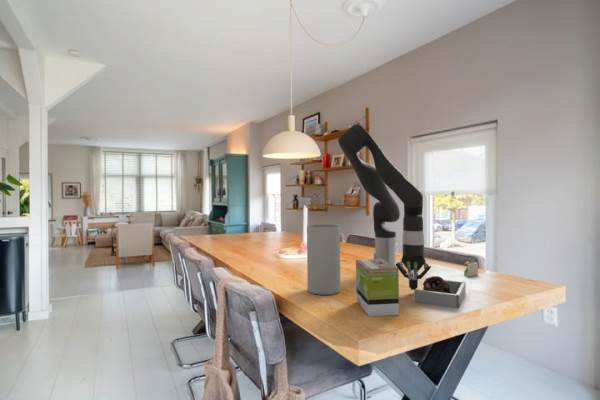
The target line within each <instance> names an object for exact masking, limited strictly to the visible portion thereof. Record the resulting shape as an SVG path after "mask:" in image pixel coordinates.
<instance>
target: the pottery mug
mask: <svg viewBox="0 0 600 400" xmlns="http://www.w3.org/2000/svg"><path fill="white" fill-rule="evenodd" d="M427 278H428V279H426V278H425V279H424V281H423V283H422V286H423V289H422V290H425V291H433V292H441V293H449V294H453V292H451V290H450V289H449V284H448V283H447V282H446V281H445V280H446V279H443V277H441V276H438V275H435V276H434V275H433V276H429V277H427ZM437 281H439V283H438V282H437ZM427 283H428V284H429V286H430V288H428V287H426V284H427Z"/></svg>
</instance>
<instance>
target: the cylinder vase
mask: <svg viewBox="0 0 600 400" xmlns="http://www.w3.org/2000/svg"><path fill="white" fill-rule="evenodd" d="M306 253H307V254H306V257H307V258H306V261H307V262H306V263H307V268H306V269H307V271H306V272H307V275H306V276H307V277H306V278H307V291H308V292H309V293H310V294H312V293H313V294H312V295H316V294H318V296H330V295H331V296H332V295H335V294H339V292H340V291H341V225H340V224H327V223H326V224H320V223H319V224H309V225H306Z"/></svg>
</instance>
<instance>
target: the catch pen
mask: <svg viewBox="0 0 600 400" xmlns="http://www.w3.org/2000/svg"><path fill="white" fill-rule="evenodd" d="M428 278H429V277H425V280H426V279H428ZM444 280H445V281H446V282H447V283H448V284H449V289H450V290H451V292H452V294H449V293H441V292H433V291H425V290H423V289H418V288H416V289H415V290H413V297H414V298H413V301H414V302H415V303H421V304H428V305H436V306H442V307H451V308H457V309H459V308H460V307H461V305H462V302H463V299H464V298H465V295H466V281H460V280H450V279H444ZM437 282H438V283H439V281H437ZM426 287H428V288H430V286H429V284H428V283H427V284H426Z"/></svg>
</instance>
